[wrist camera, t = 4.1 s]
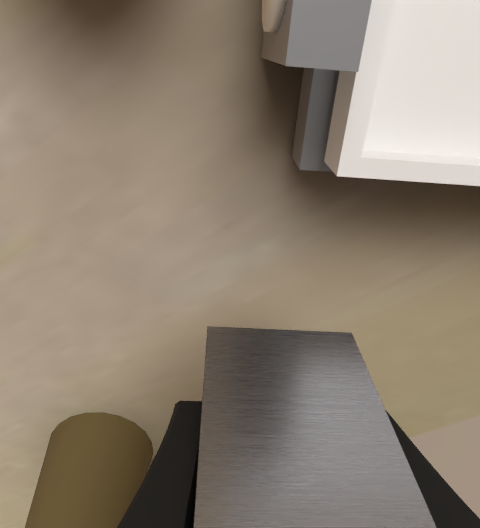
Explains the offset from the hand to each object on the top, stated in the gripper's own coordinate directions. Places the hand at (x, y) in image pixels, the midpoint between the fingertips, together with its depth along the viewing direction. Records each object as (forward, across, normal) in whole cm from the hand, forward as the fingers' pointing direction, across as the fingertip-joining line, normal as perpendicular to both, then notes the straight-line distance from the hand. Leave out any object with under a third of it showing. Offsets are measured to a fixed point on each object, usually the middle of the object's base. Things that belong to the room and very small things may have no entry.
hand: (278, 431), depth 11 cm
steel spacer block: (+2, 0, 0) cm, 2 cm away
